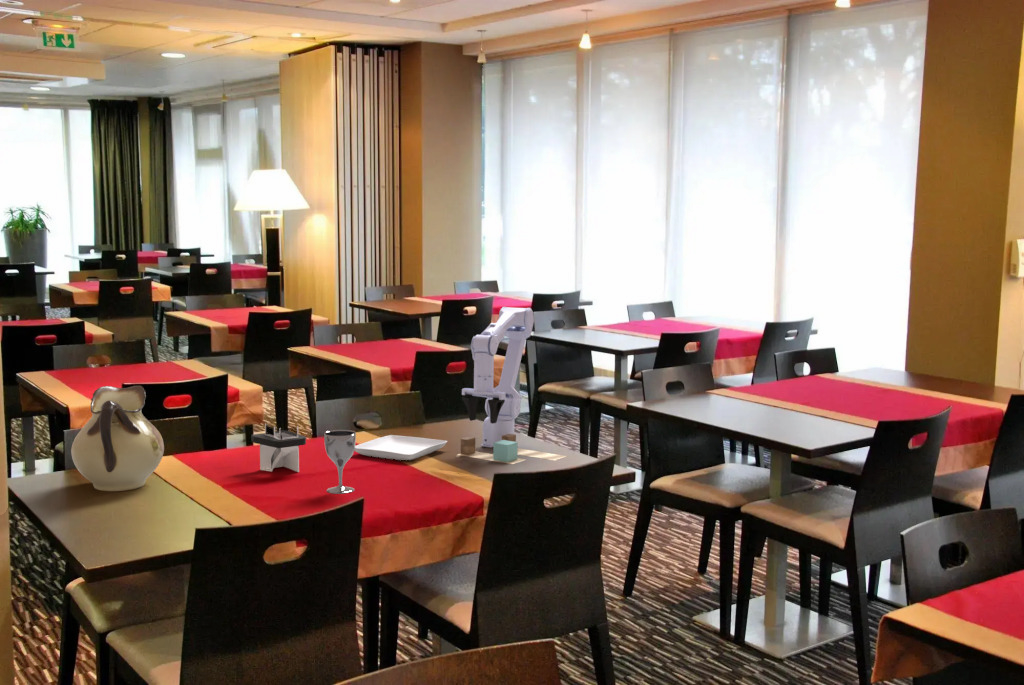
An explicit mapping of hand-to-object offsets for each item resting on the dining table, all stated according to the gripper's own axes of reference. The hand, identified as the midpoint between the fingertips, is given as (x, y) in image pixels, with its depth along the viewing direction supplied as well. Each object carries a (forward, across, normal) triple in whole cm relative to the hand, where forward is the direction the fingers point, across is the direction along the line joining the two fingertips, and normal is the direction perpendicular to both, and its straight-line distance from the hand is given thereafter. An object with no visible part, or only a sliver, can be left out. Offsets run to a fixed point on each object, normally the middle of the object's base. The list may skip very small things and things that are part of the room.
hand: (483, 421), depth 311 cm
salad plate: (+11, -22, -11) cm, 27 cm away
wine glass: (+12, -6, -53) cm, 55 cm away
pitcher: (+12, -54, -84) cm, 101 cm away
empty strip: (+10, +12, +9) cm, 18 cm away
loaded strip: (+10, +5, -2) cm, 12 cm away
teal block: (+10, +10, -2) cm, 14 cm away
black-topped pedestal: (+12, -34, -48) cm, 60 cm away
